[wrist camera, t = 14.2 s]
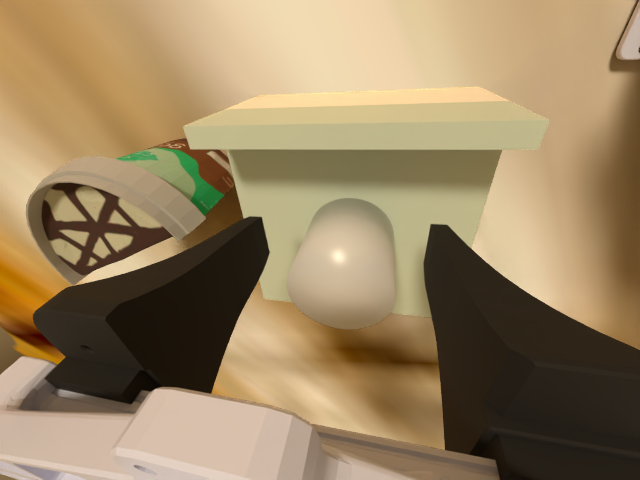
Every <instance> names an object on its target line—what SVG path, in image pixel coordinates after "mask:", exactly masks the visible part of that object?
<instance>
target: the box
mask: <svg viewBox="0 0 640 480" xmlns="http://www.w3.org/2000/svg"><path fill="white" fill-rule="evenodd" d="M488 101H509V100H506V99H504V98H502V97H500V96H498V95H496V94H494V93H492V92H490V91H488V90H486V89H484V88H482V87H458V88H432V89H407V90H382V91H356V92H331V93H305V94H280V95H258V96H256V97H253V98H251V99H249V100H246V101H244V102H241V103H239V104H236V105H234V106H232V107H229V108H227V109H251V108H285V107H319V106H353V105H386V104H420V103H454V102H488Z"/></svg>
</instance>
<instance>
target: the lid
mask: <svg viewBox="0 0 640 480" xmlns="http://www.w3.org/2000/svg"><path fill="white" fill-rule="evenodd" d="M549 121H550V120H549V119H547V118H545V117H543V116H541V115H538V114H536V113H534V112H532V111H530V110H528V109H526V108H524V107H522V106H520V105H518V104H515V103H513V102H511V101H488V102H454V103H420V104H386V105H353V106H319V107H285V108H251V109H224V110H221V111H219V112H216V113H214V114H211V115H209V116H207V117H204V118H202V119H199V120H197V121H194V122H192V123H190V124H187V125H185V126H183V128H184V131H185V134H186V137H187V141H188V144H189V147H190V149H226V150H227V154H228V158H229V162H230V166H231V170H232V174H233V178H234V182H235V186H236V190H237V194H238V198H239V202H240V206H241V210H242V214H243V218H247V217H249V216H255V217H262V220H263V224H264V229H265V233H266V238H267V242H268V247H269V251H270V254H269V257H268V260H267V263H266V265H265V268H264V271H263V273H262V275H261V276H260V278H259V281H260V285H261V289H262V293H263V297H264V299H269V300H278V301H287V302H292V300H291V299H290V296H289V294H288V290H287V278H288V274H289V272H290V270H291V267H292V265H293V263H294V260H295V258H296V256H297V253H298V251H299V249H300V246H301V244H302V242H303V239H304V237H305V235H306V232H307V230H308V228H309V225H310V223H311V221H312V219H313V216H314V215H315V213H316V212H317V211H318V210H319V209H320V208H321V207H322V206H324V205H325V204H327V203H329V202H331V201H333V200H337V199H342V198H356V199H361V200H364V201H367V202H370V203H372V204H374V205H375V206H377V207H378V208H380V209H381V210H382V211H383V212H384V213H385V214H386V215H387V217H388V218H389V220H390V222H391V224H392V227H393V232H394V266H395V302H394V306H393V308H392V310H391V312H390V313H393V314H402V315H411V316H419V317H428V318H432V316H431V312H430V307H429V302H428V298H427V293H426V288H425V281H424V266H423V263H424V257H425V252H426V246H427V241H428V236H429V230H430V225H431V224H445V225H448V226H449V227H450V228H451V229H452V230H453V231H454V232H455V233H456V234H457V235H458V236H459V237H460V238H461V239H462V240H463V241H464V242H465V243H466V244H467V245H468V246H469V247H470V248H471V246H472V243H473V240H474V237H475V234H476V230H477V227H478V224H479V221H480V218H481V215H482V212H483V208H484V205H485V202H486V199H487V196H488V193H489V189H490V186H491V183H492V180H493V177H494V174H495V171H496V167H497V164H498V161H499V158H500V155H501V152H502V150H538V149H539V146H540V144H541V141H542V139H543V136H544V134H545V131H546V129H547V126H548V123H549Z"/></svg>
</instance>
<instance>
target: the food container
mask: <svg viewBox="0 0 640 480" xmlns="http://www.w3.org/2000/svg"><path fill="white" fill-rule="evenodd" d="M234 185H235V182H234V178H233V174H232V170H231V166H230V162H229V158H228V157H227V156H226V155H225V154H223V153H222V152H221V151H220V150H218V149H190V147H189V144H188V141H187V139H185V138H184V139H179V140H173V141H170V142H167V143H164V144H161V145H158V146H155V147H151V148H148V149H145V150H142V151H139V152H136V153H133V154H130V155H127V156H124V157H121V158H117V159H114V158H107V157H100V156H89V157H81V158H77V159H73V160H71V161H69V162H68V163H66V164H64V165H62V166H61V167H60V168H58V169H57V170H56V171H54V172H53V173H51V174H50V175H49V176H47V177H46V178H44V179H43V180H42V181H41V183H40V184H39V185H38V186H37V188H36V190H35V191H34V192H33V193H32V194H31V195H30V197H29V199H28V202H27V205H26V218H27V223H28V227H29V229H30V232H31V235H32V237H33V239H34V241H35V243H36V244H37V246H38V248H39V249H40V251H41V252H42V254H43V255H44V257H45V258H46V259H47V260H48V261H49V263H50V264H51V265H52V266H53V267H54V268H55V269H56V270H57V271H58V272H59V273H60V274H61V275H62V276H63V277H64V278H65V279H66V280H67V281H68V282H69V283H70V284H71V285H73V286H74V285H75V284H76V283H78V282H79V281H80V280H82V279H83V278H84V277H86V276H87V275H88V274H90V273H91V272H92V271H94V270H96V269H99V268H101V267H104V266H106V265H109V264H111V263H114V262H117V261H120V260H123V259H125V258H127V257H129V256H131V255H133V254H135V253H137V252H139V251H141V250H144V249H146V248H148V247H150V246H152V245H154V244H157V243H159V242H161V241H164V240H166V239H168V238H170V237H174V238H175V239H176V240H177V241H180V240H181V239H182V238H183V237H184V236H185V235H187V234H189V233H190V232H191V231H193V230H194V229H195V228H196V227H197V226H198V225H200V224H201V223H202V222H203V221H204V220H205V219H207V218H206V217H205V215H206V214H207V213H208V212H209V211H210V210H211V209H212V208H213V207H214V206H215V205H216V204H217V203H218V202H219V201H220V200H221V199H222V198H223V196H224V195H225V194H226V193H227V192H228V191H229V190H230V189H231V188H232V187H233V186H234Z"/></svg>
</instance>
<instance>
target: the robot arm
mask: <svg viewBox="0 0 640 480" xmlns="http://www.w3.org/2000/svg"><path fill="white" fill-rule="evenodd" d="M639 47H640V0H639V2H638V4H637V6H636V8H635V10H634V13H633V15H632V17H631V19H630V21H629V24H628V26H627V28H626V30H625V32H624V34H623V37H622V39H621V41H620V43H619V45H618V48H617V50H616V57H617V58H618V59H620V60H640V53H639V52H638V50H639ZM269 254H270V251H269V247H268V242H267V238H266V233H265V229H264V224H263V220H262V217H255V216H249V217H247V218H244V219H243V220H241V221H239V222H237V223H235V224H233V225H232V226H230V227H228V228H227V229H225V230H223V231H221V232H220V233H218V234H216V235H214V236H213V237H211V238H209V239H207V240H205V241H203V242H202V243H200V244H198V245H196V246H194V247H192V248H190V249H188V250H186V251H184V252H182V253H179V254H177V255H175V256H173V257H170V258H168V259H165V260H163V261H160V262H157V263H155V264H152V265H149V266H146V267H143V268H141V269H138V270H134V271H131V272H128V273H125V274H121V275H117V276H114V277H110V278H106V279H102V280H98V281H94V282H89V283H85V284H80V285H76V286H71V287H67V288H66V289H64V290H62V291H61V292H60V293H58V294H57V295H56V296H54V297H53V298H52V299H50V300H49V301H48V302H46V303H45V304H44V305H43V306H41V307H40V308H39V309H37V310H36V311H35V313H34V314H33V320H34V324H35V325H36V327H37V329H38V330H39V331H40V332H41V333H42V334H43V335H44V336H45V337H46V338H47V339H48V340H49V341H50V342H51V343H52V344H53V345H54V346H55V347H56V348H57V349H58V350H59V351H60V352H61V353H62V354H63V355H65V356H66V357H65V358H64V359H63V360H62V361H61V362H60V363H59V364H58V365H57V364H56V363H54V362H51V361H48V360H44V359H39V358H33V357H28V356H23V357H21V358H19V359H18V360H17V361H16V362H15V363H14V364H12V365H11V366H10V367H9V368H8V369H7V370H5V371H4V372H3V373H2V374H1V375H0V474H3V475H6V476H9V477H12V478H15V479H18V480H640V350H638V349H636V348H634V347H631V346H629V345H627V344H625V343H623V342H620V341H618V340H616V339H614V338H611V337H609V336H607V335H605V334H602V333H600V332H598V331H596V330H594V329H592V328H590V327H588V326H586V325H584V324H582V323H580V322H578V321H576V320H574V319H572V318H570V317H568V316H566V315H564V314H563V313H561V312H559V311H557V310H555V309H553V308H552V307H550V306H548V305H547V304H545V303H543V302H542V301H540V300H538V299H537V298H535V297H533V296H532V295H530V294H529V293H527V292H525V291H524V290H522V289H521V288H519V287H518V286H517V285H515V284H514V283H512V282H511V281H509V280H508V279H507V278H505V277H504V276H503V275H501V274H500V273H499V272H497V271H496V270H495V269H494V268H492V267H491V266H490V265H489V264H488V263H486V262H485V261H484V260H483V259H482V258H481V257H480V256H478V255H477V254H476V253H475V252H474V251H473V250H472V249H471V248H470V247H469V246H468V245H467V244H466V243H465V242H464V241H463V240H462V239H461V238H460V237H459V236H458V235H457V234H456V233H455V232H454V231H453V230H452V229H451V228H450V227H449V226H448V225H445V224H431V225H430V230H429V236H428V241H427V246H426V252H425V257H424V263H423V266H424V281H425V288H426V293H427V298H428V302H429V307H430V312H431V316H432V321H433V325H434V330H435V335H436V341H437V350H438V360H439V371H440V382H441V394H442V408H443V422H444V440H445V450H442V449H437V448H432V447H427V446H422V445H417V444H412V443H407V442H401V441H396V440H391V439H386V438H381V437H376V436H371V435H366V434H361V433H356V432H351V431H346V430H341V429H336V428H331V427H326V426H321V425H316V424H311V423H310V422H308V421H307V420H305V419H303V418H302V417H300V416H298V415H297V414H295V413H293V412H291V411H288V410H284V409H281V408H278V407H275V406H271V405H267V404H262V403H256V402H251V401H246V400H241V399H235V398H230V397H225V396H219V395H214V394H211V392H212V389H213V386H214V382H215V379H216V376H217V373H218V370H219V368H220V365H221V362H222V359H223V356H224V353H225V350H226V348H227V345H228V342H229V340H230V337H231V335H232V332H233V330H234V327H235V325H236V322H237V320H238V318H239V316H240V314H241V312H242V310H243V308H244V306H245V304H246V302H247V300H248V299H249V297H250V295H251V293H252V291H253V289H254V288H255V286H256V284H257V282H258V280H259V278H260V276H261V275H262V273H263V271H264V268H265V265H266V263H267V260H268V257H269Z"/></svg>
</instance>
